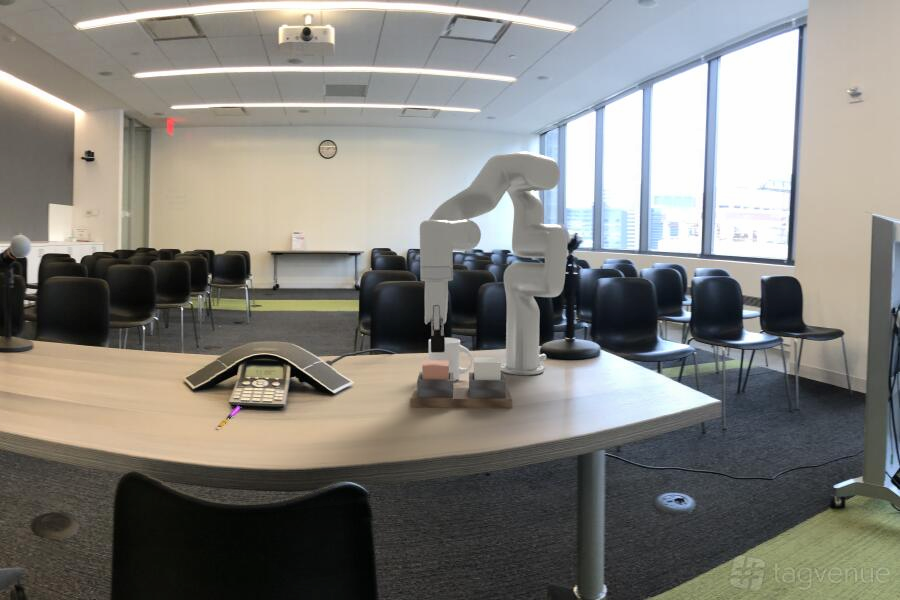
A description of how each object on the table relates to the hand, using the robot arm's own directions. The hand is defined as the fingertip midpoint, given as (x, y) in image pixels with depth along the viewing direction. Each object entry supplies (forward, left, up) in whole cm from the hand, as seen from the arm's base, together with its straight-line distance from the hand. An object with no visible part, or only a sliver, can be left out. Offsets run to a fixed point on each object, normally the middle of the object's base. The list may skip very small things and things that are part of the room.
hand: (437, 351), depth 134 cm
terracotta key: (+1, 0, -9) cm, 9 cm away
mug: (-17, -12, -12) cm, 25 cm away
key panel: (-3, +5, -12) cm, 13 cm away
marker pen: (+40, -22, -13) cm, 47 cm away
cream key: (-8, +9, -8) cm, 14 cm away
